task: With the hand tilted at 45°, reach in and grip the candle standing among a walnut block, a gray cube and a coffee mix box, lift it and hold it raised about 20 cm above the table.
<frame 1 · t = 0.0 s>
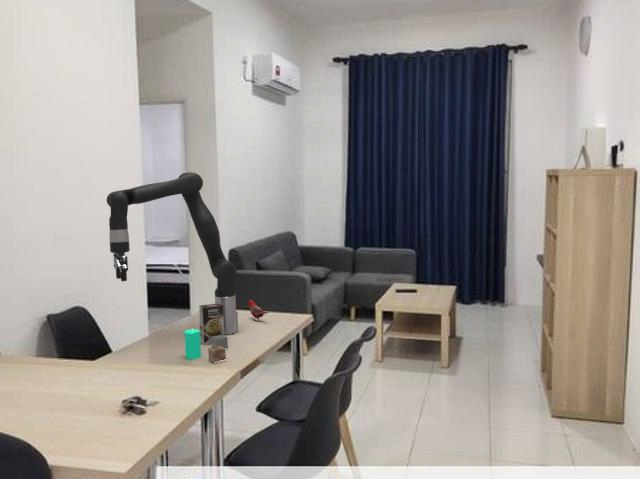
hand: (121, 279, 234), 29 cm above the table, tool pointing down, fingers open, 8 cm apart
gray cube: (219, 348, 236), on the table
walnut block: (217, 361, 220), on the table
coffee box: (212, 342, 246), on the table
decorative bird figurine: (258, 322, 280), on the table
candle: (193, 357, 225), on the table
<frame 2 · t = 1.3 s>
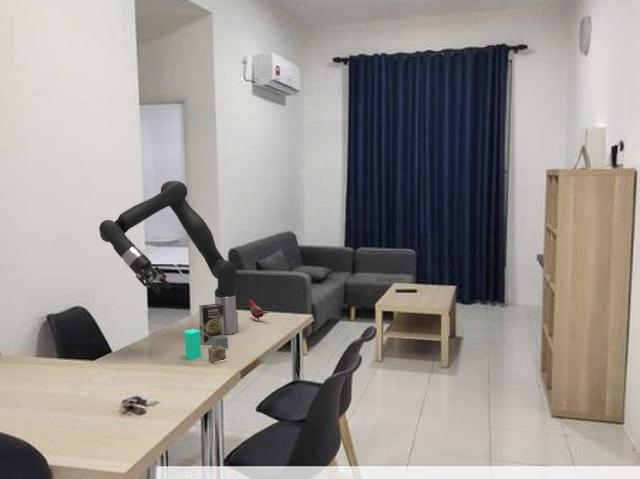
hand: (164, 289, 225), 27 cm above the table, tool tilted 45°, fingers open, 8 cm apart
nothing on the table moved.
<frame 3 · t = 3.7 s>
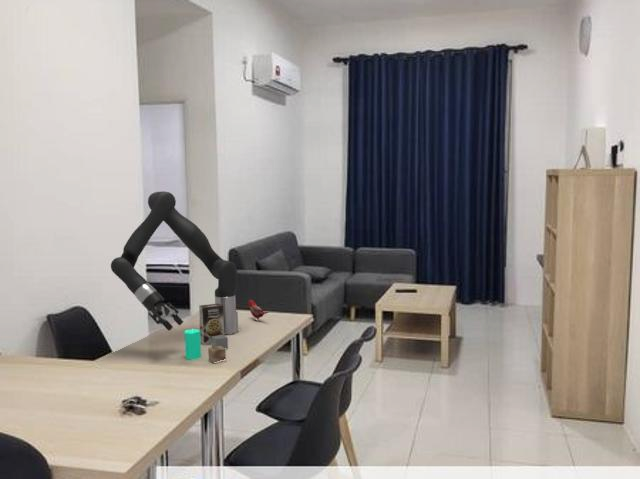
hand: (176, 326, 225), 12 cm above the table, tool tilted 45°, fingers open, 8 cm apart
nothing on the table moved.
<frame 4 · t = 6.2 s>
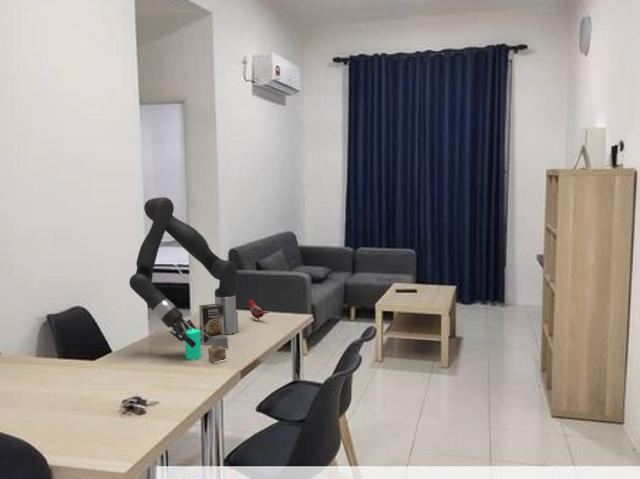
hand: (197, 344, 224), 5 cm above the table, tool tilted 45°, fingers closed on candle, 4 cm apart
candle: (193, 357, 225), on the table, touching gripper
everything else where it was.
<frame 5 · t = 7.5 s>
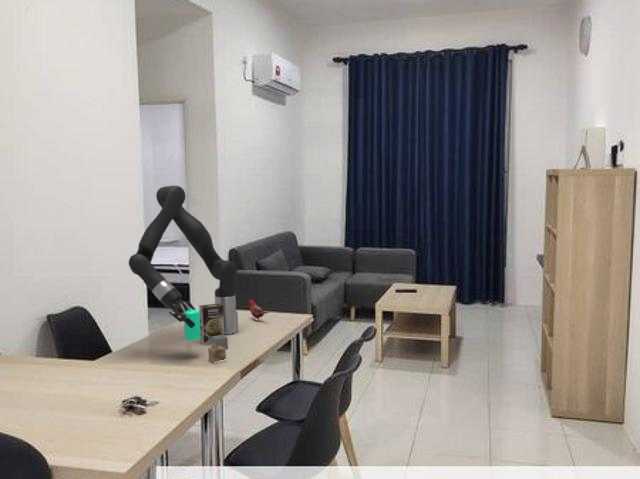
hand: (196, 324, 223), 13 cm above the table, tool tilted 45°, fingers closed on candle, 4 cm apart
candle: (192, 338, 225), point 7 cm above the table, touching gripper
everything else where it was.
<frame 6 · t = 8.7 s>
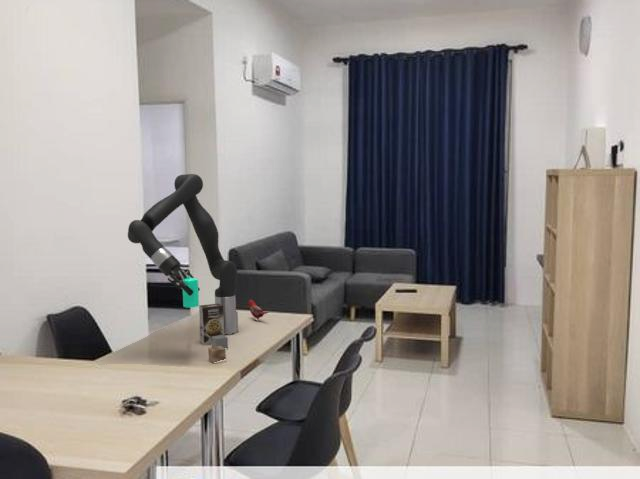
hand: (195, 292, 222), 26 cm above the table, tool tilted 45°, fingers closed on candle, 4 cm apart
candle: (191, 306, 223), point 20 cm above the table, touching gripper
everything else where it was.
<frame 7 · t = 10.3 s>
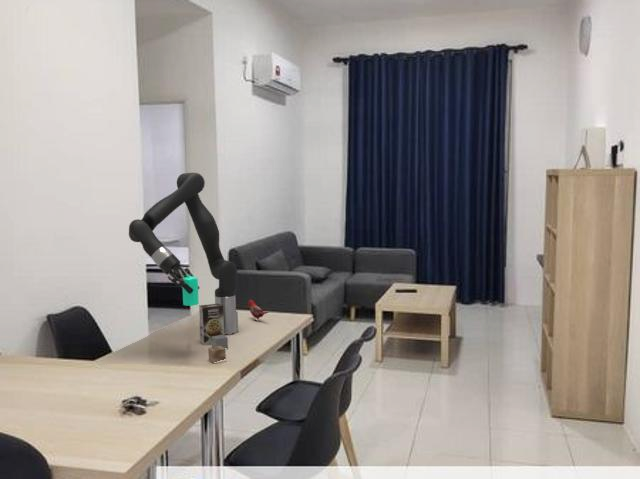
hand: (194, 290, 225), 26 cm above the table, tool tilted 45°, fingers closed on candle, 4 cm apart
candle: (190, 304, 226), point 20 cm above the table, touching gripper
everything else where it was.
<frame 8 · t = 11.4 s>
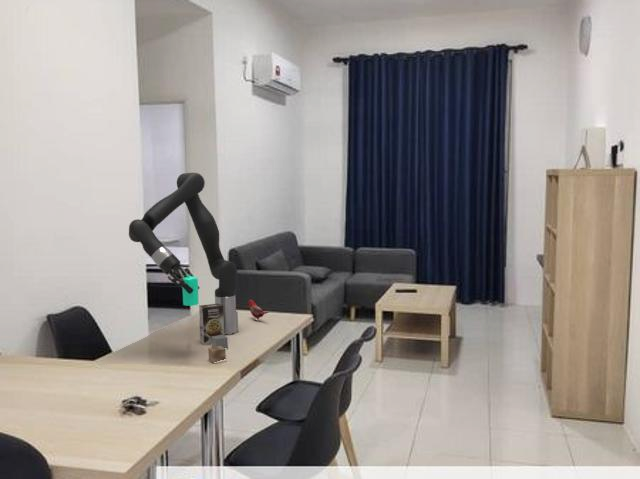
hand: (194, 290, 225), 26 cm above the table, tool tilted 45°, fingers closed on candle, 4 cm apart
candle: (190, 304, 226), point 20 cm above the table, touching gripper
everything else where it was.
at the end: the gripper is holding candle; candle point 20.4 cm above the table; gray cube moved 0.1 cm from its start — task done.
